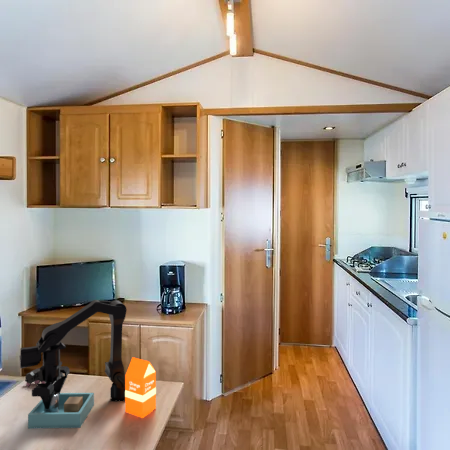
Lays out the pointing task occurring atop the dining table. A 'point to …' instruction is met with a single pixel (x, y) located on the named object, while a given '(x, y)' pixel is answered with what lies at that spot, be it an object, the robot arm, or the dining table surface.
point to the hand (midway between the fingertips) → (52, 403)
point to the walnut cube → (73, 404)
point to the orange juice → (140, 388)
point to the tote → (61, 413)
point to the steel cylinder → (53, 404)
